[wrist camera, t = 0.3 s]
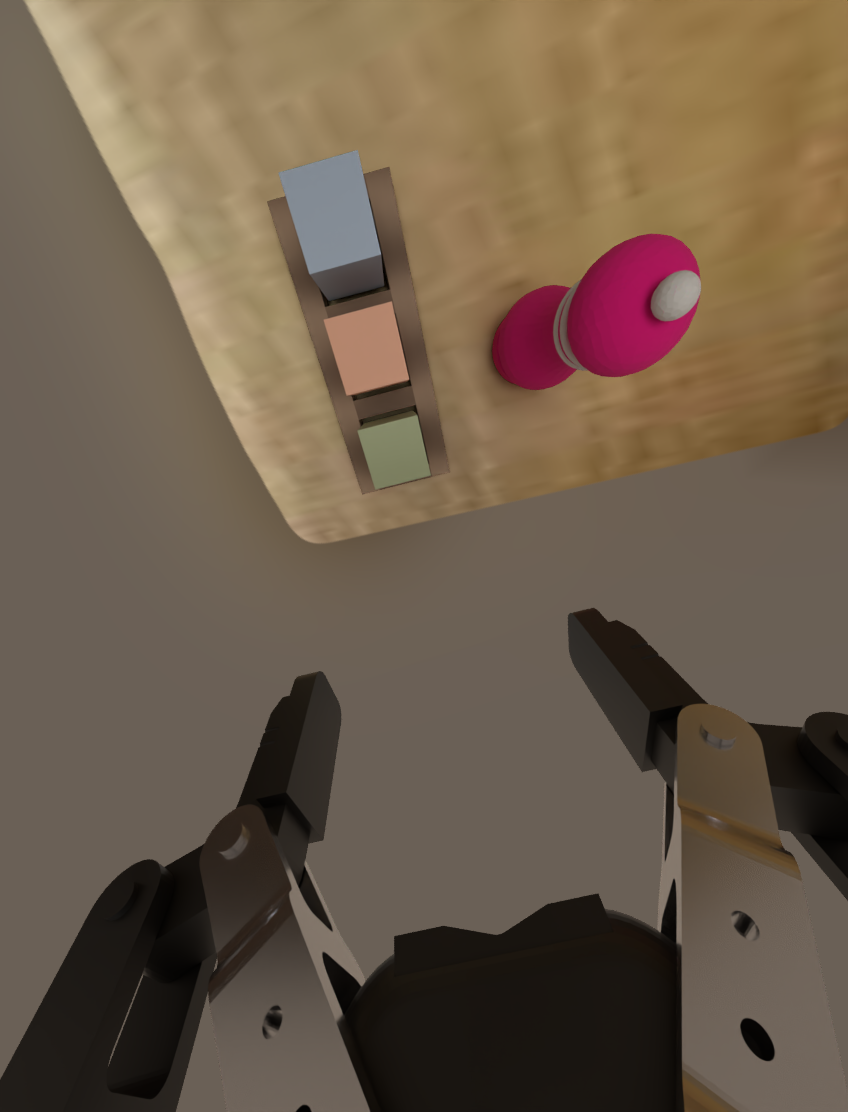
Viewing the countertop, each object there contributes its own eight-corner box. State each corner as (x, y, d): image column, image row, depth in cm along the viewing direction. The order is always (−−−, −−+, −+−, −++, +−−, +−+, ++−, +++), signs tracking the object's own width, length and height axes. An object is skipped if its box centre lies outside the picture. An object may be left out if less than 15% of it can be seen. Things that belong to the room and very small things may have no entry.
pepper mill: (574, 357, 33) (794, 314, 15) (510, 406, 34) (639, 422, 16) (539, 280, 30) (760, 112, 12) (472, 337, 31) (576, 265, 13)
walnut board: (279, 220, 27) (267, 201, 24) (389, 189, 26) (389, 166, 24) (364, 486, 36) (362, 494, 34) (445, 466, 36) (449, 472, 33)
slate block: (307, 227, 25) (278, 172, 19) (366, 210, 25) (357, 149, 19) (329, 301, 27) (309, 274, 21) (384, 286, 27) (381, 254, 21)
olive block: (364, 422, 31) (357, 430, 25) (412, 410, 31) (417, 415, 25) (378, 471, 33) (375, 489, 27) (424, 459, 33) (430, 475, 27)
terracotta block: (339, 335, 28) (323, 319, 22) (392, 321, 28) (391, 301, 22) (356, 394, 30) (346, 395, 24) (406, 381, 30) (409, 379, 24)
